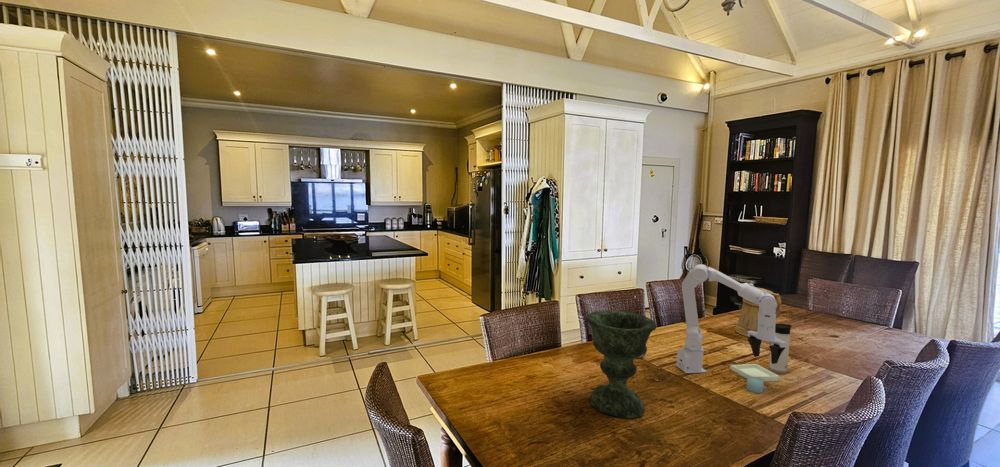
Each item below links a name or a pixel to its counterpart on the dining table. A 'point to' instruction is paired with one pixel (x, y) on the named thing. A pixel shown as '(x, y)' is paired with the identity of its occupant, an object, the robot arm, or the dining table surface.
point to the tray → (754, 372)
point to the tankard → (753, 314)
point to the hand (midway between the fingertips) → (765, 359)
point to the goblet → (619, 359)
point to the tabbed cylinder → (755, 385)
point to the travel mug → (783, 334)
